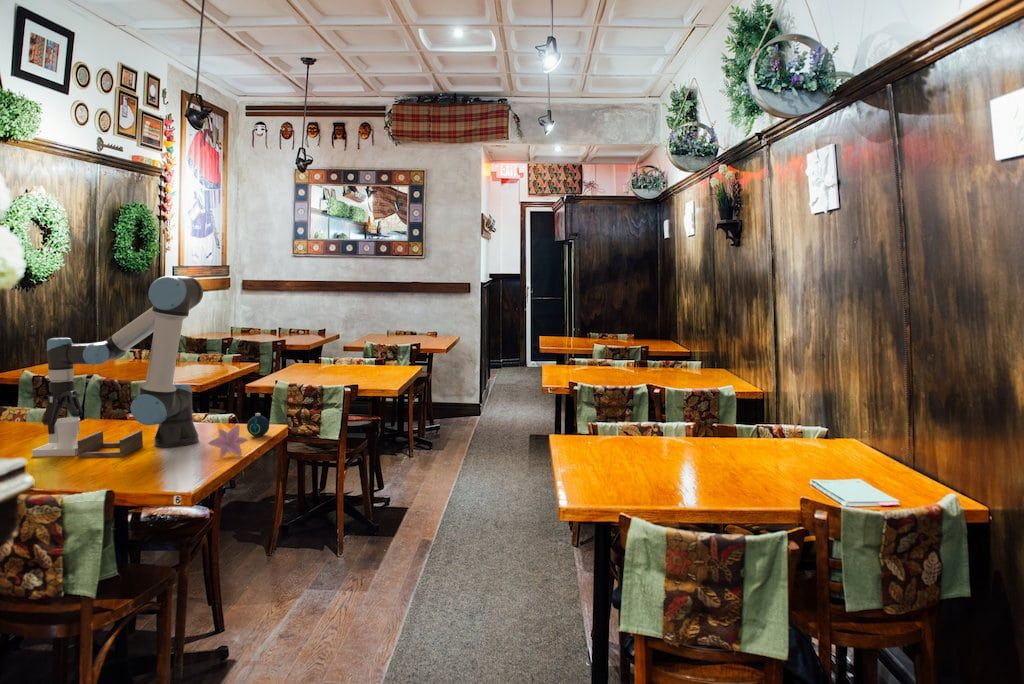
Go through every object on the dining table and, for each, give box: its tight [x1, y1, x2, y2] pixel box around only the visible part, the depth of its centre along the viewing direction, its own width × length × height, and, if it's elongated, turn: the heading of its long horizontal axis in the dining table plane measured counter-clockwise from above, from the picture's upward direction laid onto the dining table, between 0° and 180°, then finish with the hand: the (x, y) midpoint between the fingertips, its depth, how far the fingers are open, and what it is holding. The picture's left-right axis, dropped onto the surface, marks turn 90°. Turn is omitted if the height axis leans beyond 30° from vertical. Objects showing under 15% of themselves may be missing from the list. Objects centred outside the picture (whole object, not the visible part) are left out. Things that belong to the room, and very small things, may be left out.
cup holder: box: [77, 430, 144, 458], centre depth 237 cm, size 15×15×6 cm
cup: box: [54, 417, 81, 449], centre depth 237 cm, size 10×10×11 cm
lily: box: [207, 424, 249, 458], centre depth 235 cm, size 12×12×10 cm
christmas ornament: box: [246, 412, 270, 437], centre depth 262 cm, size 8×8×10 cm
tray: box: [31, 439, 79, 457], centre depth 238 cm, size 14×14×2 cm
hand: (64, 438), depth 237 cm, fingers open, 13 cm apart
